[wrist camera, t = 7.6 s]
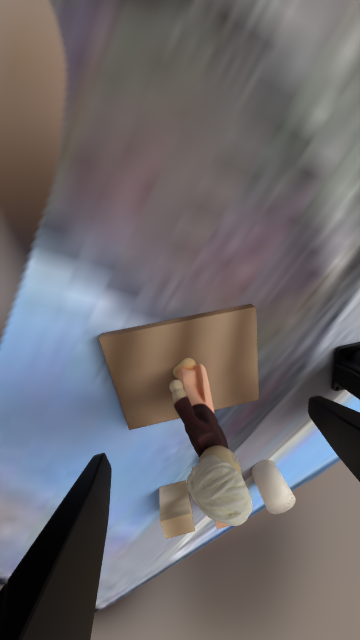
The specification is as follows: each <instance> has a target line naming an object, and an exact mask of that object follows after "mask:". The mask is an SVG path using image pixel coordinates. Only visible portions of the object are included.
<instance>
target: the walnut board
mask: <svg viewBox="0 0 360 640" xmlns="http://www.w3.org/2000/svg"><path fill="white" fill-rule="evenodd" d="M99 341H100V344H101V347H102V350H103V353H104V356H105V359H106V362H107V365H108V368H109V371H110V374H111V377H112V380H113V383H114V386H115V389H116V392H117V395H118V398H119V401H120V404H121V407H122V410H123V413H124V416H125V419H126V422H127V425H128V428H129V430H131V429H136V428H140V427H144V426H148V425H153V424H157V423H161V422H166V421H170V420H174V419H178V418H180V417H179V415H178V413H177V412H176V410H175V408H174V401H173V397H172V394H173V393H172V392H171V390H170V387H169V386H170V383H171V382H172V381H173V380H179V379H178V378H176V377H175V376H174V375H173V369H174V368H175V367H176V366H177V365H178V364H179V363H180V362H181V361H182V360H183V359H185V358H191V359H193V360H194V361H195V362H196V364H197V366H198V365H199V364H202V365H203V366H204V367H205V369H206V373H207V377H208V381H209V387H210V392H211V397H212V403H213V408H214V410H217V409H221V408H225V407H230V406H234V405H238V404H242V403H247V402H251V401H255V400H259V387H258V356H257V326H256V307H255V306H253V305H251V304H248V305H243V306H238V307H233V308H228V309H223V310H218V311H213V312H207V313H202V314H197V315H192V316H187V317H182V318H177V319H172V320H167V321H162V322H157V323H152V324H147V325H142V326H137V327H132V328H127V329H122V330H117V331H112V332H107V333H102V334H101V335H100V337H99Z"/></svg>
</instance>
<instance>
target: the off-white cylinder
mask: <svg viewBox="0 0 360 640" xmlns="http://www.w3.org/2000/svg"><path fill="white" fill-rule="evenodd" d="M251 474H252V476H253V479H254V481H255V483H256V485H257V487H258V490H259V492H260V494H261V496H262V499H263V501H264V503H265V505H266V508H267V510H268V511H269V512H270V513H273V514H279V513H283V512H285V511H287V510H289V509H290V508H291V507H292V506H293V505H294V503H295V497H294V495H293V493H292V492H291V490H290V488H289V487H288V485H287V483H286V481H285V480H284V478H283V476H282V475H281V473H280V471H279V469H278V468H277V466H276V464H275V463H274V462H273V461H272V460H263V461H260V462H258V463H256V464H255V465H254V466H253V468H252V470H251Z"/></svg>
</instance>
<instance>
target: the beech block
mask: <svg viewBox="0 0 360 640" xmlns="http://www.w3.org/2000/svg"><path fill="white" fill-rule="evenodd" d="M159 501H160V523H161V526H162V529H163V532H164V535H165V538H166V539H168V538H172V537H175V536H179V535H182V534H186V533H190V532H193V531H195V528H194V521H193V514H192V508H191V501H190V495H189V491H188V489H187V483H186V480H185V481H181V482H177V483H173V484H169V485H165V486H161V487H159Z"/></svg>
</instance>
